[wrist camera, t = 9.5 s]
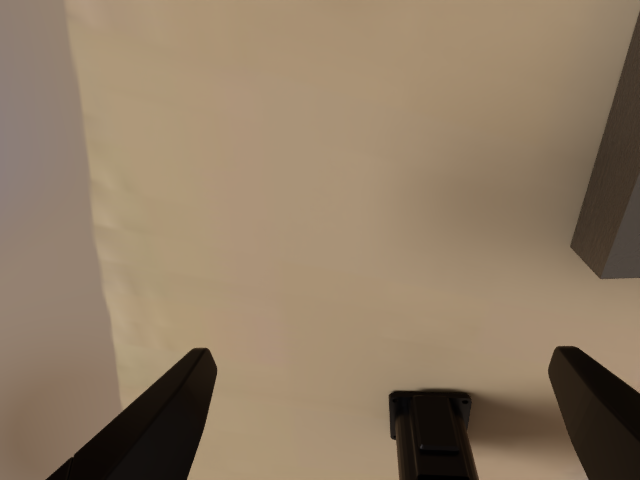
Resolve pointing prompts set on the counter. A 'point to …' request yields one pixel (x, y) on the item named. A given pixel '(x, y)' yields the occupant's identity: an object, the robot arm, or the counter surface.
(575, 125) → the counter surface
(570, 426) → the robot arm
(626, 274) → the rail
